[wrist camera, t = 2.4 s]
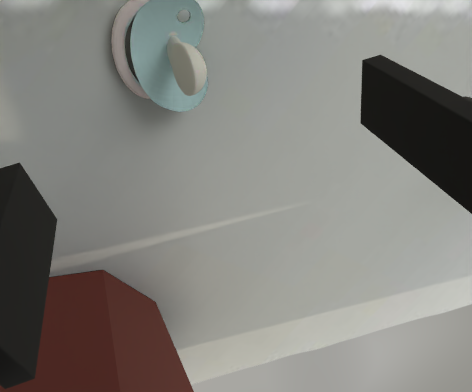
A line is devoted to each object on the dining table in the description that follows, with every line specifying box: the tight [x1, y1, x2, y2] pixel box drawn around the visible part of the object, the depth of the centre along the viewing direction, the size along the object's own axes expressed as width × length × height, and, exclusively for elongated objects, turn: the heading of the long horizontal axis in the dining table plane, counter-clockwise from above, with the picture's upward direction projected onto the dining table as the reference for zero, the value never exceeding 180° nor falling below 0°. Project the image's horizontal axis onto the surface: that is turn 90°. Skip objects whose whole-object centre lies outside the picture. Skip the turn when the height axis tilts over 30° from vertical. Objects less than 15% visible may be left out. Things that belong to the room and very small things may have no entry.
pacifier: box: [111, 0, 208, 112], centre depth 23 cm, size 7×6×6 cm
